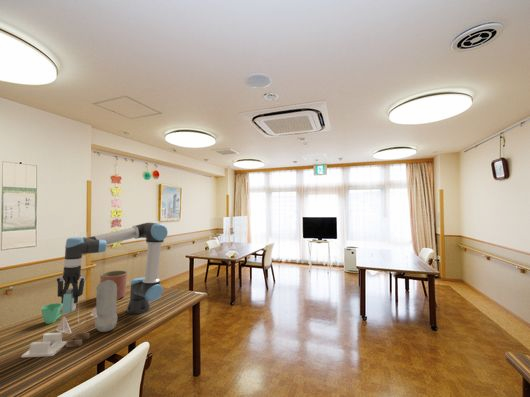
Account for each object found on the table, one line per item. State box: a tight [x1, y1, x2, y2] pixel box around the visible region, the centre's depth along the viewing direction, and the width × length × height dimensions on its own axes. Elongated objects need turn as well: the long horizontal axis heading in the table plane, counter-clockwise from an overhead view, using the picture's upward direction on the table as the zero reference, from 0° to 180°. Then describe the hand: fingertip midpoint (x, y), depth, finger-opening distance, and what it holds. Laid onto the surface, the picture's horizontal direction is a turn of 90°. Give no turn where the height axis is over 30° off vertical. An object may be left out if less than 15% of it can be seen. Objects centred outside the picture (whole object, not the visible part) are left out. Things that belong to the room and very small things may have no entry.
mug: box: [40, 302, 64, 325], centre depth 159 cm, size 15×10×10 cm
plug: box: [61, 287, 76, 314], centre depth 133 cm, size 4×5×12 cm
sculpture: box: [94, 280, 118, 333], centre depth 150 cm, size 15×12×30 cm
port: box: [20, 332, 68, 358], centre depth 127 cm, size 14×12×6 cm
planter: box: [99, 269, 128, 301], centre depth 200 cm, size 19×19×20 cm
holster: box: [65, 332, 91, 348], centre depth 135 cm, size 7×9×3 cm
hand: (69, 309), depth 132 cm, fingers closed on plug, 4 cm apart
